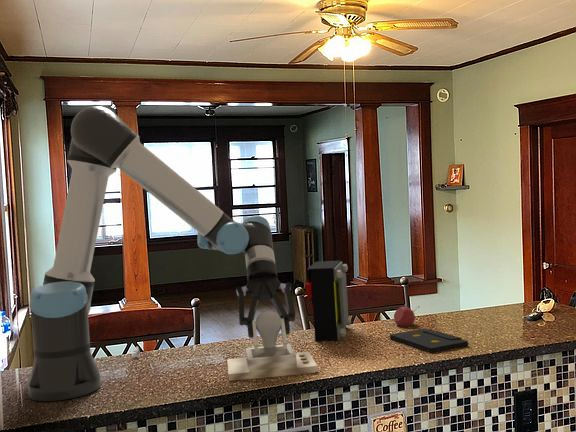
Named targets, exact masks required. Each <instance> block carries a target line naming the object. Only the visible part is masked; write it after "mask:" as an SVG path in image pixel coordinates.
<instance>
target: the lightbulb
mask: <svg viewBox="0 0 576 432" xmlns="http://www.w3.org/2000/svg"><path fill="white" fill-rule="evenodd" d="M255 321H256V330H257V334H259V336H260V338H261V341H262V347H264V352H265V355H266V356H268V357H270V356H274V355H275V352H276V351H275V350H276V349H275V347H276V346H277V341H278V336H279V334H280V333H281V318H280V316H279V314H278V312H277V311H276V312H275V311H274V310H264V311H261V312H260V313H259V314H258V316H257V317H256V319H255Z"/></svg>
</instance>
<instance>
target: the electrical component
mask: <svg viewBox="0 0 576 432" xmlns="http://www.w3.org/2000/svg"><path fill="white" fill-rule="evenodd" d="M348 270H349V266H348V264H347V263H343V261H342V260H328V261H327V260H325V261H324V260H321V261H316V262H314V263H313V264H311V265H310V266H309V267H307V268H306V280H307V282H305V283H304V285H305V286H304V288H305V292H306V298H308V299H309V298H310V299H311V305H312V310H313V328H314V329H313V330H314V342H338V341H340V340H341V338H342V337H346V335H347V330H346V328H347V326H349V327H350V326H351V324H352V320H351V318H350V317H349V305H348V302H349V301H348V285H347V273H346V272H348Z"/></svg>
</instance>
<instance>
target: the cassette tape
mask: <svg viewBox="0 0 576 432" xmlns="http://www.w3.org/2000/svg"><path fill="white" fill-rule="evenodd" d="M389 340H390V341H393V342H396V343H399V344H402V345H405V346H407V347H409V348H414V349H417V350H419V351H423V352H426V353H428V354H436V352H437V353H441V351H442V352H446V350H447V351H451V349H452V350H456V349H455V348H457V349H462V348H467V347H469V341H468V340H466V339H462V337H459V336H455V335H452V334H449V333H445V332H442V331H439V330H434V329H431V328H430V329H428V328H419V329H414V330H409V331H402V332H396V333H391V334H389ZM466 346H467V347H466ZM461 347H462V348H461Z"/></svg>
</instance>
